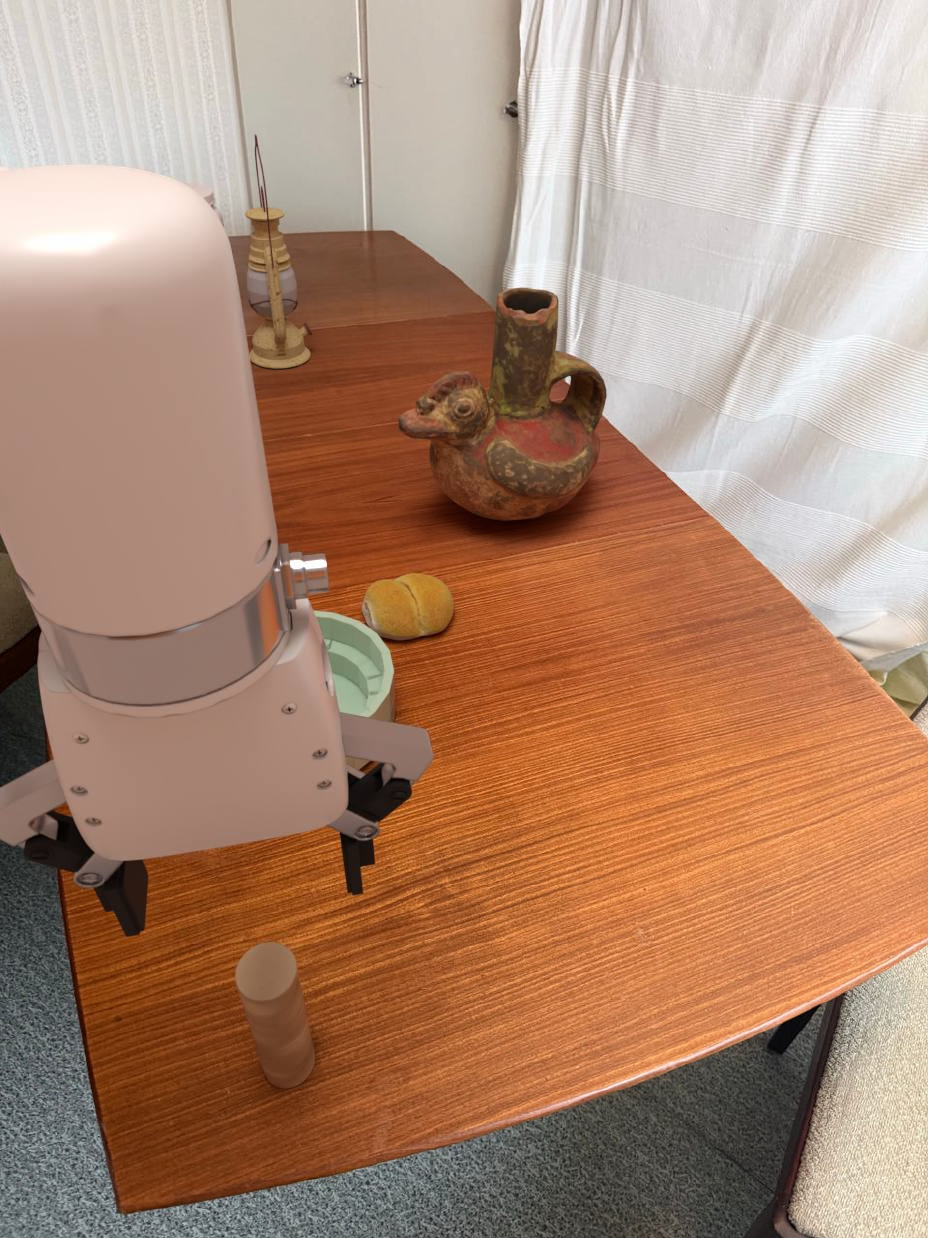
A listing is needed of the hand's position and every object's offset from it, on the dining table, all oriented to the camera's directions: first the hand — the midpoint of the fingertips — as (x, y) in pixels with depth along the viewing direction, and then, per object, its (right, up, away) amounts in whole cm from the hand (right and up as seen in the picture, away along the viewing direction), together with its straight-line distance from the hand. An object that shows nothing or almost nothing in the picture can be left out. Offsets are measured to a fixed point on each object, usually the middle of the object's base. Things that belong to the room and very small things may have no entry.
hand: (247, 886), depth 38 cm
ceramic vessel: (+14, +25, +60) cm, 67 cm away
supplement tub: (-36, +68, +106) cm, 131 cm away
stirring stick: (-1, -15, +13) cm, 20 cm away
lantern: (-18, +52, +89) cm, 105 cm away
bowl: (-4, +3, +34) cm, 35 cm away
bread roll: (+4, +12, +45) cm, 47 cm away
